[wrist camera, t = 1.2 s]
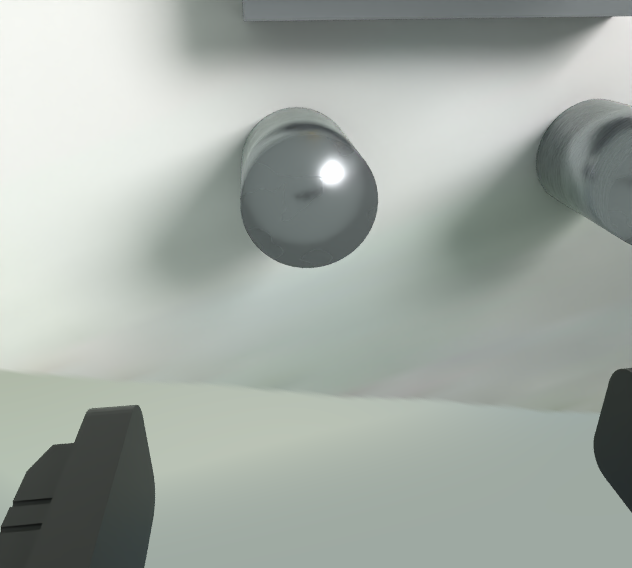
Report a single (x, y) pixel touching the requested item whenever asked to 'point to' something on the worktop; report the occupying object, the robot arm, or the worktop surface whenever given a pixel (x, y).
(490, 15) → the scale
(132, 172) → the worktop surface
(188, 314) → the worktop surface
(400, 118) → the worktop surface
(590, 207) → the cylinder
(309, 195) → the cylinder
